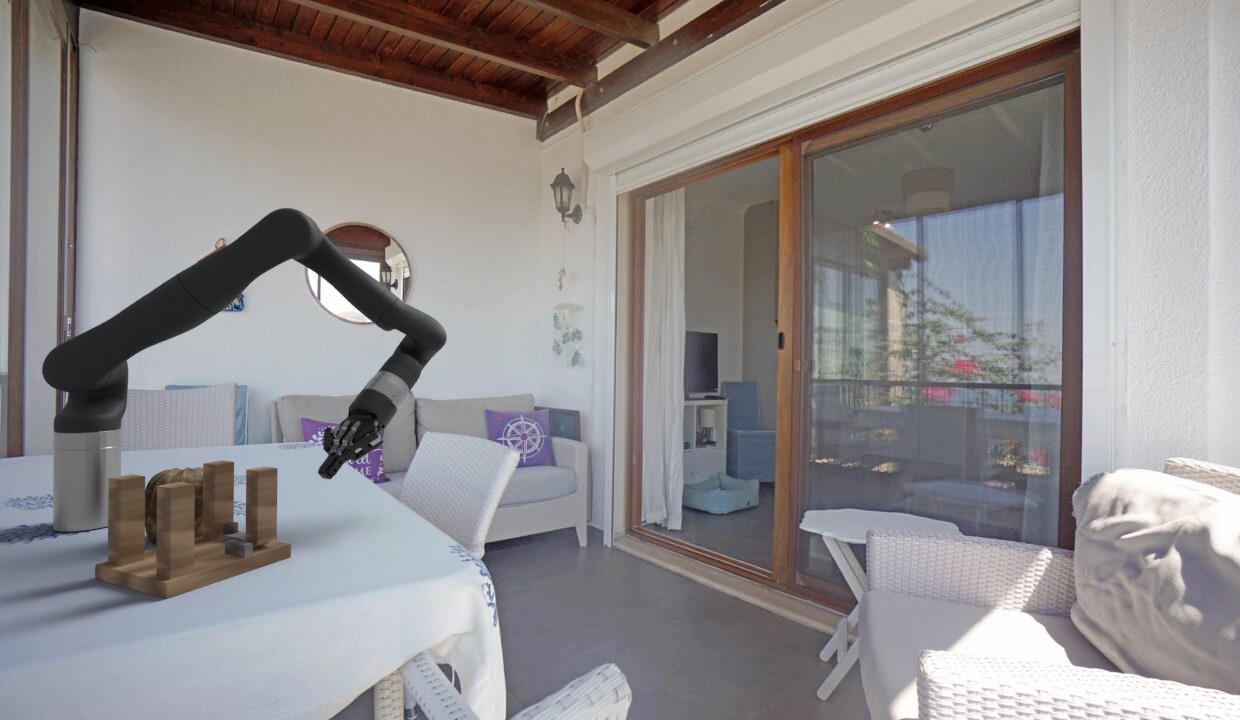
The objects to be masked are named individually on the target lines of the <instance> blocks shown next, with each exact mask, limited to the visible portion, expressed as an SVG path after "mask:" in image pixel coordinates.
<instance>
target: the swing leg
mask: <svg viewBox="0 0 1240 720" xmlns="http://www.w3.org/2000/svg"><path fill="white" fill-rule="evenodd" d="M278 469H279V468H278V467H273V466H272V467H271V466H267V465H266V466H265V465H264V466H260V467H259V466H258V467H252V468H246V469H245V473H246V474H245V475H246V476H245V531H242V530H239V522H238V521H234V522H229V523H225V524H223V540H226V541H229V540H232V539H234V540H239V541H244V542H249V543H253V548H255V547H258V546H262V545H265V544H269V541H277V540H278V539H277V538H278V475H279V473H278V471H279V470H278Z"/></svg>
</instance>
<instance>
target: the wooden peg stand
mask: <svg viewBox="0 0 1240 720" xmlns="http://www.w3.org/2000/svg"><path fill="white" fill-rule="evenodd" d="M202 466H203V467H202V468H203V536H202V537H198V538H194V523H195V484H192V483H185V482H177V483H171V484H166V485H160V486H157V544H156V547H155V548H152V549H148V550H145V547H146V544H145V543H146V531H145V489H146V476H145V475H139V474H134V473H133V474H132V473H131V474H127V475H126V474H125V475H121V476H118V477H112V478H108V526H107V561H103V562H99V563H96V564H94V565H95V567H94V572H95V573H94V579H95V580H98V579H99V580H98V581H102V582H105V583H110V584H113V585H117V586H120V587H124V588H127V589H131V590H134V591H138V592H141V593H145V594H148V595H152V596H155V597H160V598H163V599H166V600H167V599H170V598H173V597H176V596H179V595H182V594H186V593H187V592H191V591H194V590H196V589H199V588H202V587H206V586H208V585H212V584H214V583H218V582H220V581H223V580H226V579H229V578H232V577H236V576H238V575H241V573H242V574H244V573H247V571H248V572H251V571H254V570H257V569H260V568H262V567H265V566H268V565H271V564H274V563H277V562H280V561H283V560H286V559H288V558H291V557H292V544H291V543H286V542H282V541H277V540H273V541H269V544H265V545H262V546H258V547H255V548H253V543H249V542H244V541H239V540H234V539H232V540H229V541H226V540H223V524H225V523H229V522H235V521H234V519H235V517H234V516H235V515H234V514H235V511H234V509H235V507H234V505H235V504H234V503H235V495H234V494H235V462H234V461H229V460H221V459H220V460H215V461H211V462H210V461H209V462H204V463H203V465H202ZM253 569H254V570H253Z"/></svg>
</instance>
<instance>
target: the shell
mask: <svg viewBox="0 0 1240 720" xmlns="http://www.w3.org/2000/svg"><path fill="white" fill-rule="evenodd" d="M177 482H185V483H192V484H195V523H194V538H198V537H202V536H203V467H198V466H197V467H195V468H191V467H185V468H183V469H181V468H179V467H175V468H170V469H166V470H165V469H164V470H162V471H159V472H158V473H156V474H154V475H153V476H152V477H151V478H150V479H149V481H148V482H147V484H146V485H145V535H146V537H147V539H148V540H149V541H150V543H152V544H156V545H157V486H160V485H166V484H171V483H177Z"/></svg>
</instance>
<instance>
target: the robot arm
mask: <svg viewBox="0 0 1240 720" xmlns="http://www.w3.org/2000/svg"><path fill="white" fill-rule="evenodd" d="M290 260H294V261H295V262H297V263H299V264H301V265H303V266H304V267H306V268H307V269H309V270H310V271H312V272H314V273H315V274H316V275H318V276H319V277H320V278H322V279H323V280H325V282H327V284H328V283H329V284H330V285H331V286H332V287H333V288H334V289H335V290H336V291H337V292H338V293H339V294H340V295H341V297H343V298H344V299H346V301H347V302H348V303H349V304H351V305H352V306H353V307H354V308H355V309H356V310H357V311H358V312H360V313H361V314H362V315H363V316H364V317H366V318H367V319H368V320H369V321H371V322H372V323H373V324H375V326H377V327H378V328H380V329H381V330H383V331H385V332H392V331H394V330H395V331H398V332H400V333H402V334H404V337H403V338H402V339H401V341H400V342H399V344H398V345H397V347H396V348H395V350H394V351H393V353H392V355H391V356H389V358H388V359H387V360H386V361H385V362H384V363H383V365H382V366H381V367H380V369H378V371H377V372H376V373H375V375H373V377H371V378H370V380H368V381H367V383H366V384H365V385H364V387H363V388H362V389H361V391H359V393H358V395H357V396H356V397H355V398H354V399H353V401H352V402H351V403H350V405H349V406H348V412H347V414H348V415H347V417H345V419H344V420H342V421H341V422H340V423H339V426H337V427H335V428H332V427H331V426H328V427H326V428H324V432H323V448H322V449H323V450H324V451H325V453H326V454H327V455H328V456H327V457H326V458H325V459H324V461H323V462H322V464H320V466H319V468H318V470H317V474H318V475H319V477H321V478H322V479H323V480H324V479H325V480H332V479H333V477H334V476H336V475H337V473H338V472H339V470H340V469H341V468H342V467H343V465H344V464H346V463H348V462H349V461H351V460H352V461H353V462H357V461H358V460H360V459H361V458H363V457H364V456H366V455H367V454H369V453H371V452H372V451H374V450H375V449H377V448H379V447H381V445H383V444H384V440H383V439H382V437H381V436H380V435H379V434H380V432H381V431H384V430H385V429H386V428H387V427H388V425H389V424H390V422H391V421H392V420H393V418H394V417H395V415H396V414H397V412H399V410H400V408H401V407H402V406H403V404H404V403H405V400H406V399H407V396H408V395H409V393H410V392H411V391H412V389H413V387H414V386H415V385H416V383H417V382H418V381H419V379H420V377H421V375H422V374H421V373H422V371H423V370H424V369H425V367H426V366H427V364H428V363H429V362H430V361H431V360H432V359H433V358H434V357H435V355H436V354H437V353H438V352H439V351H440V350H442V349H443V347H445V345H446V344H447V336H448V335H447V332H446V330H445V327H444V326H443V325H442V324H441V323H440V322H439V321H438V320H437V319H436V318H434V317H433V316H431V315H429V314H428V313H426V312H424V311H421V310H420V309H418V308H416V307H415V306H411V305H409V304H407V303H406V302H404V301H403V300H402V299H401V298H399V297H398V296H397V295H396V294H395V293H393V292H392V290H390V289H388V287H386V286H385V285H384V284H382V283H381V282H380V281H378V280H377V279H376V278H374V277H373V276H372V275H370V274H369V273H368V272H367V271H365V270H364V269H362V268H361V267H360V266H358V265H356V264H355V263H354V262H353V261H352V260H351V259H349V257H347V256H346V255H345V254H344V253H342V252H341V250H340V249H338V248H337V246H335V245H334V243H333V242H332V241H331V240H330V239H329V238H328V237H327V235H325V233H324V232H323V231H322V230H321V228H320V227H319V226H318V224H317V222H316V221H314V219H313V218H311V217H310V216H308V215H307V214H306V213H304V212H303V211H300V210H299V209H296V208H291V207H283V208H281V207H280V208H278V209H275V210H273V211H271V212H269V213H268V214H266V215H265V216H264V217H262V218H261V219H260V220H259V221H258V222H257V223H255V224H254V225H252V226H251V227H250V228H249V229H247V231H245V232H244V233H242V234H241V235H240V236H239V237H238V238H237V239H235V240H233V241H232V242H231V243H229V244H227V245H226V246H224V247H223V248H221V249H218V250H217V251H215V252H214V253H211V254H209V255H207V256H205V257H204V258H203V259H200V260H199V261H197V262H196V263H193V264H192V265H190V266H189V267H187V268H186V269H184V270H181V271H180V272H178V273H176V274H175V275H174V276H172V277H171V278H169V279H167V280H166V281H164V282H163V283H161V284H160V285H158V286H157V287H155V288H154V289H152V290H151V291H149V292H148V293H147V294H145V295H144V296H142V297H140V298H139V299H137V300H136V301H133V302H132V303H131V304H129V305H128V306H127V307H125V308H124V309H122V310H121V311H120V312H118V313H117V314H115V315H113V316H112V317H110V318H109V319H106V320H105V321H104V322H101V323H100V324H98V325H96V326H93V327H92V328H90V329H88V330H86V331H83V332H82V333H80V334H78V335H76V336H74V337H72V338H70V339H68V340H66V341H64V342H61V343H60V344H58V345H57V346H55V347H53V348H52V349H51V351H49V352H48V353H47V355H46V357H45V359H44V361H43V363H42V367H41V373H42V377H43V380H44V381H45V382H46V384H47V385H48V386H50V387H51V388H53V389H55V390H58V391H61V392H65V393H67V400H66V403H65V405H64V407H63V408H62V409H61V410H60V411H59V412H58V413H57V414H56V415H55V416H54V418H53V445H52V446H53V470H52V471H53V478H52V479H53V481H52V487H53V488H52V503H53V504H52V530H54V531H56V532H66V533H67V532H82V531H90V530H91V531H92V530H97V529H101V528H105V527H108V478H112V477H118V476H122V420H123V417H124V415H125V412H126V410H127V403H128V392H129V391H128V388H129V364H128V360H130V359H131V358H133V357H134V356H136V355H137V354H138V353H141V352H142V351H144V350H147V349H148V348H150V347H153V346H156V345H158V344H161V343H164V342H166V341H168V340H170V339H173V338H175V337H178V336H180V335H183V334H185V333H188V332H189V331H191V330H193V329H196V328H197V327H199V326H201V325H202V324H204V323H205V322H207V321H208V320H210V319H212V318H213V317H215V316H216V315H217V314H219V313H221V312H222V311H223V310H224V309H226V308H227V307H228V306H230V305H231V304H232V303H233V302H234V301H235V300H236V299H237V298H238V297H239V296H240V295H241V294H242V293H243V292H244V291H245V290H246V289H247V288H248V286H250V285H251V284H252V283H253V282H254V281H255V280H256V279H258V278H259V277H260V276H262V275H264V274H265V273H267V272H268V271H271V270H272V269H274V268H276V267H277V266H279V265H281V264H283V263H285V262H288V261H290Z"/></svg>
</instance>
